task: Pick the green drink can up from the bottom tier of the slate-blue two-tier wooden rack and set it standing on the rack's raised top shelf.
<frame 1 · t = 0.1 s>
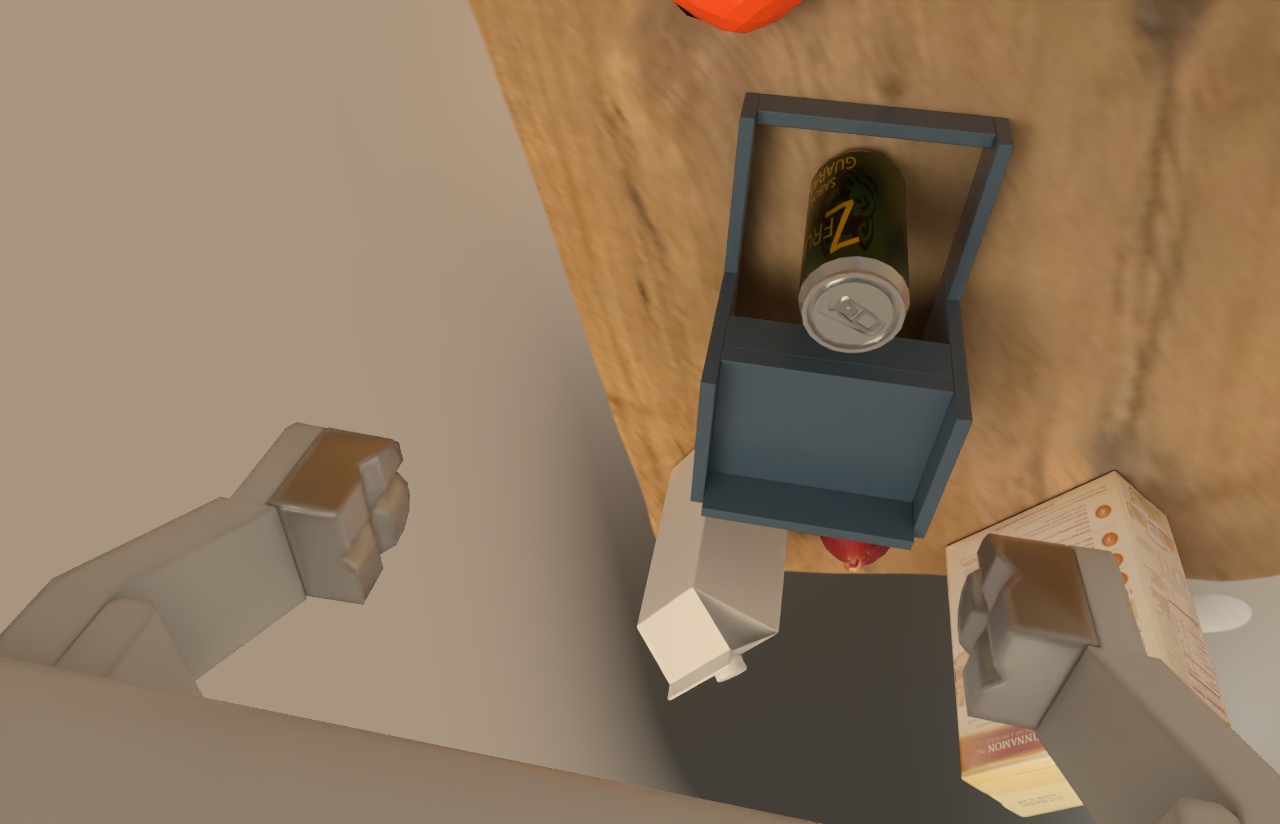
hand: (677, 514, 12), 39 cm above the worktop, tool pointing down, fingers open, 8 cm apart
rack: (841, 258, 54), on the worktop
onion: (857, 484, 68), on the worktop
coffeecake box: (1050, 529, 67), on the worktop
milk carton: (732, 465, 69), on the worktop
green drink can: (857, 185, 50), resting in rack
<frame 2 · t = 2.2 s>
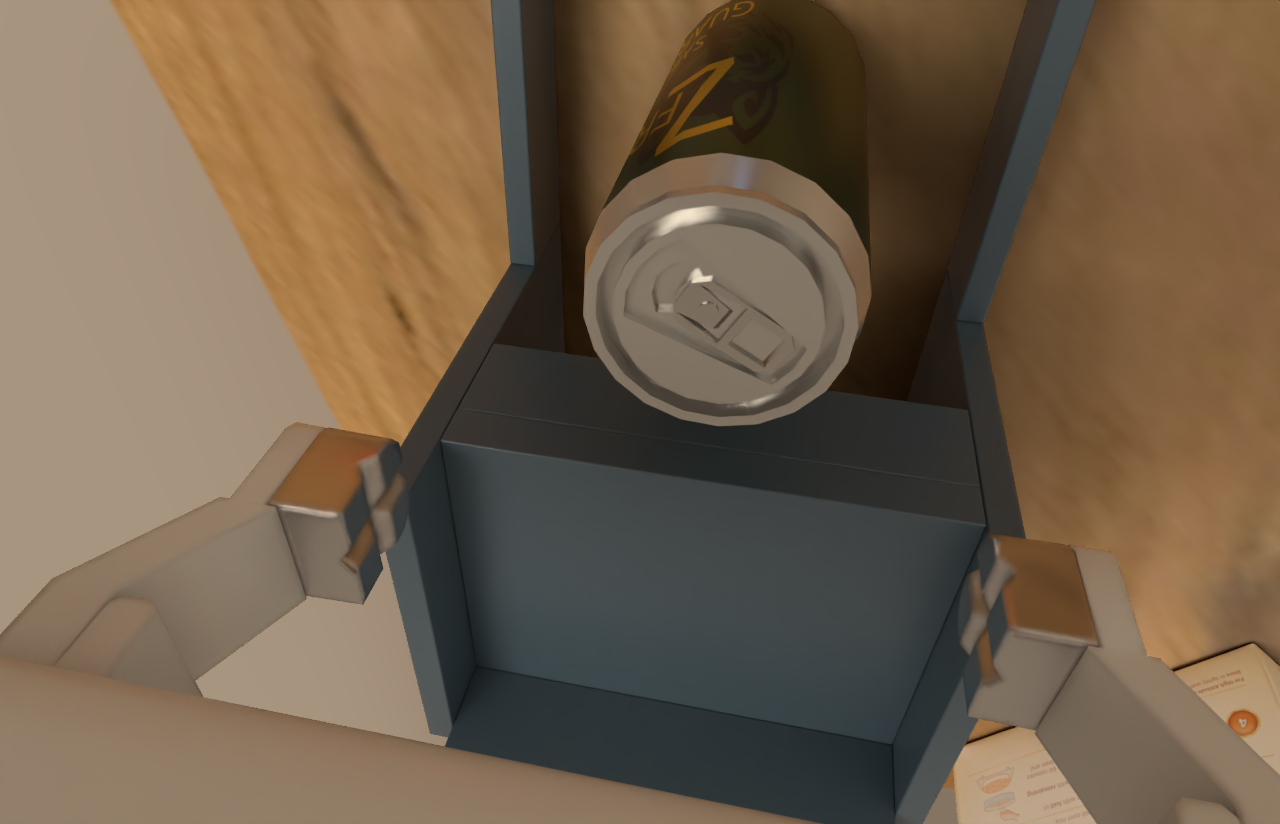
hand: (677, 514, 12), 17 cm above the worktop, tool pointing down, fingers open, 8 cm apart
rack: (748, 244, 28), on the worktop
coffeecake box: (1128, 730, 40), on the worktop
green drink can: (768, 84, 25), resting in rack
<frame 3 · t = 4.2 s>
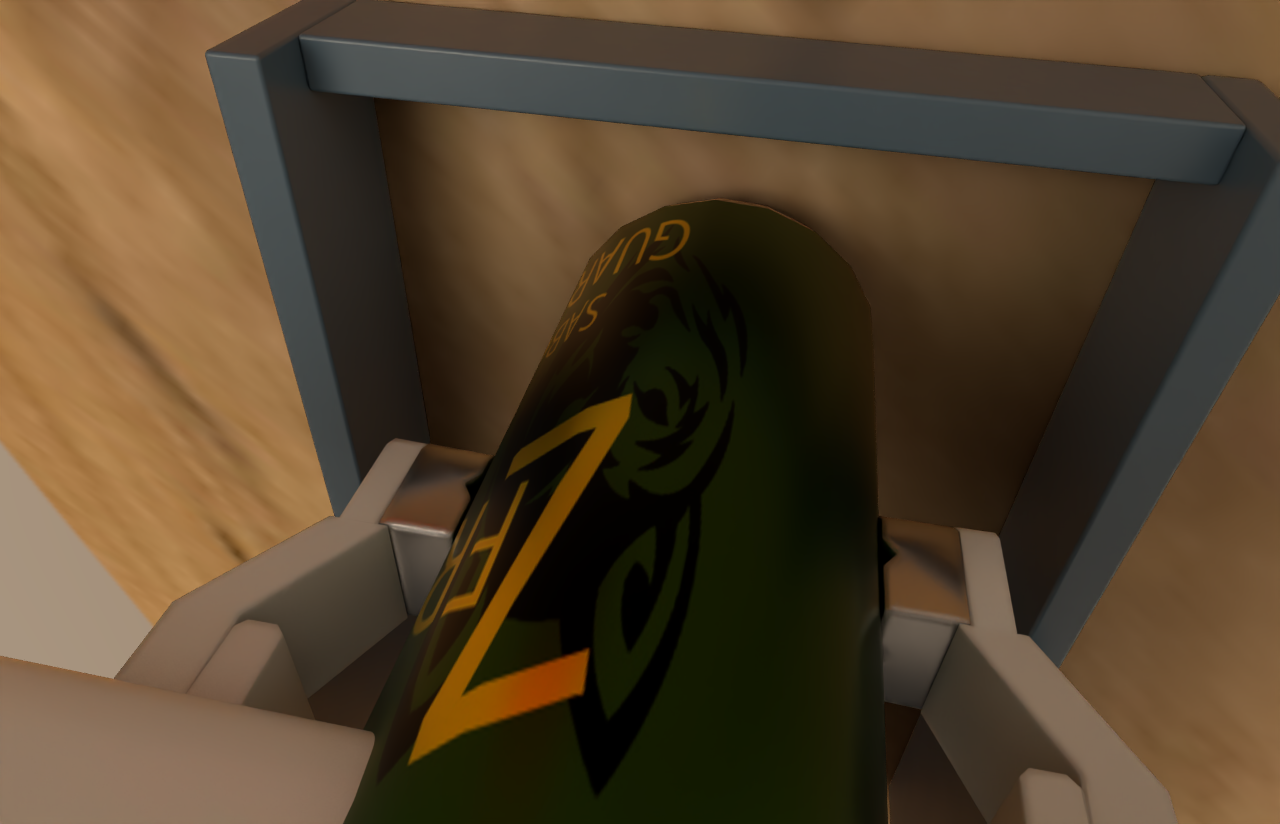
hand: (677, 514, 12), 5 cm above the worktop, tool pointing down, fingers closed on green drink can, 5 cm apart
rack: (701, 506, 19), on the worktop
green drink can: (724, 312, 16), resting in rack, touching gripper
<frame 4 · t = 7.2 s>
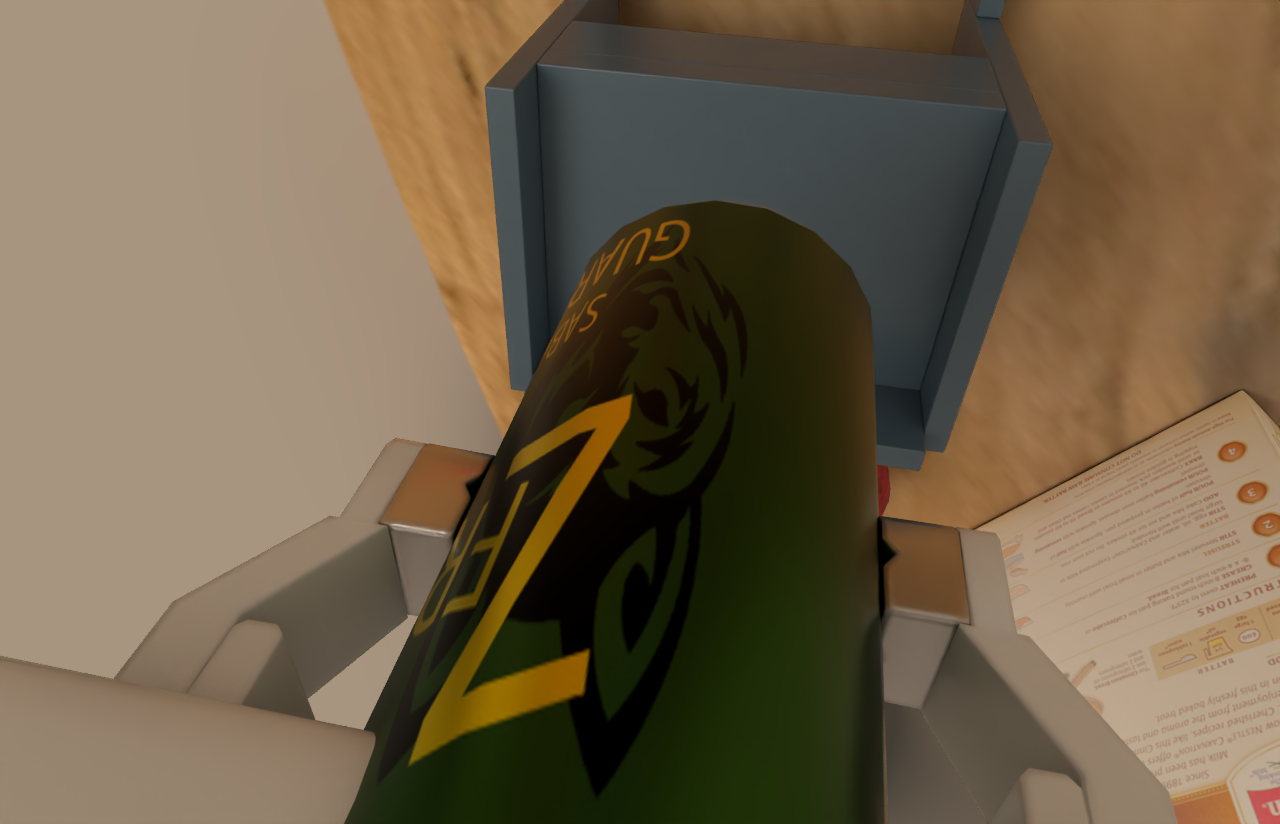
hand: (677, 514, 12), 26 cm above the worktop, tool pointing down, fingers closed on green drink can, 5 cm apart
onion: (828, 431, 44), on the worktop
coffeecake box: (1127, 502, 43), on the worktop
green drink can: (724, 312, 16), point 21 cm above the worktop, touching gripper
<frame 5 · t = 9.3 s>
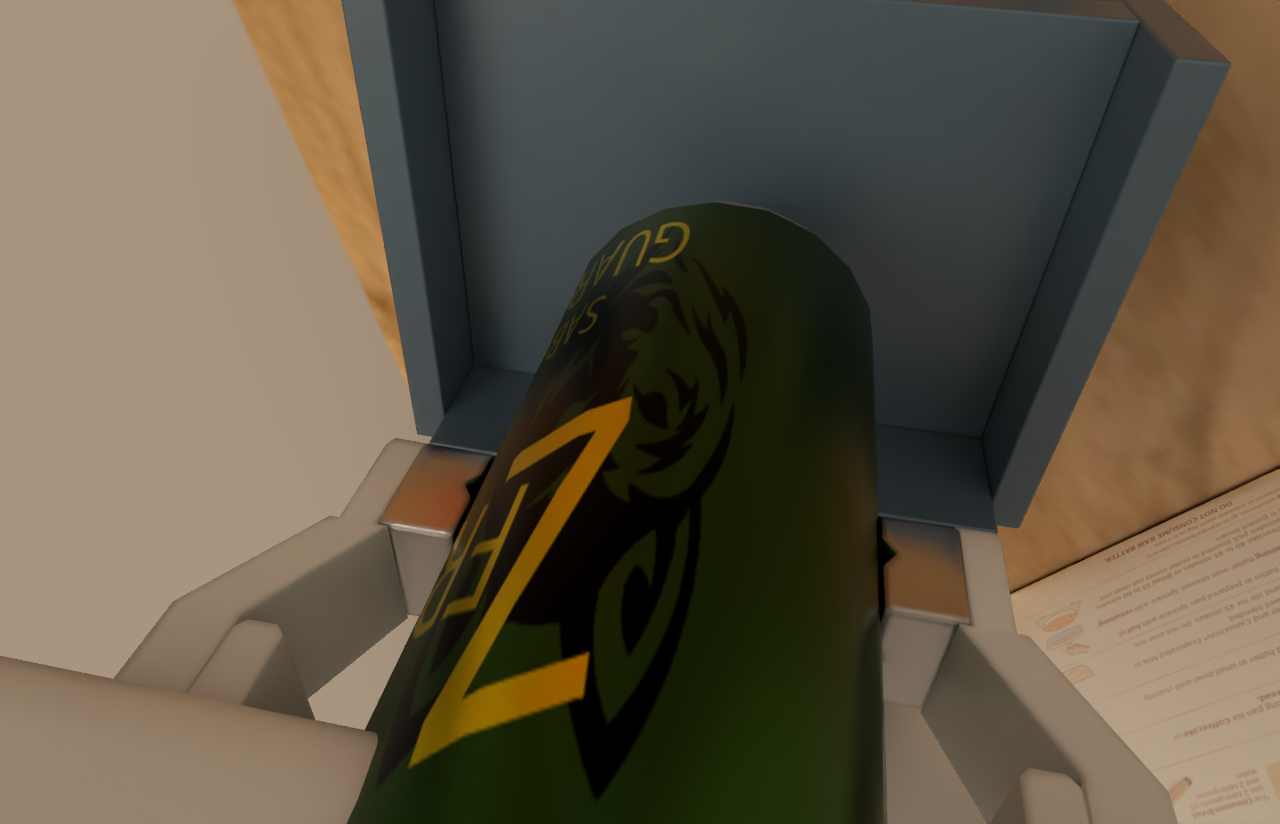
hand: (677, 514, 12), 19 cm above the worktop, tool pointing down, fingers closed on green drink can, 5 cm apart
coffeecake box: (1207, 561, 35), on the worktop
green drink can: (723, 314, 16), point 14 cm above the worktop, touching gripper
when the fingers open (16 cm above the worktop, at t = 10.7 s): green drink can stays where it is, resting on rack.
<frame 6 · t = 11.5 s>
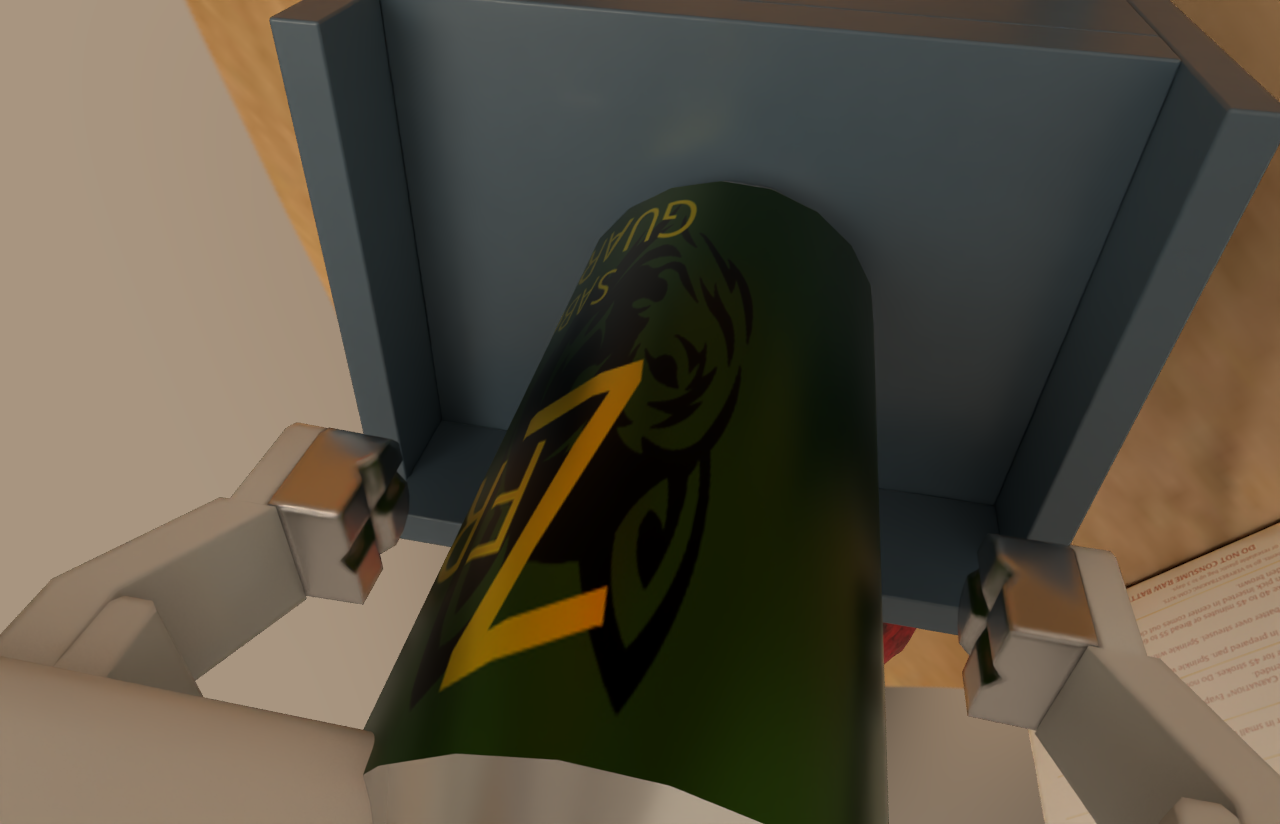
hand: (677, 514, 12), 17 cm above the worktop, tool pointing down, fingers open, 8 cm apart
onion: (842, 510, 35), on the worktop
coffeecake box: (1227, 604, 34), on the worktop
green drink can: (728, 292, 17), point 11 cm above the worktop, touching rack
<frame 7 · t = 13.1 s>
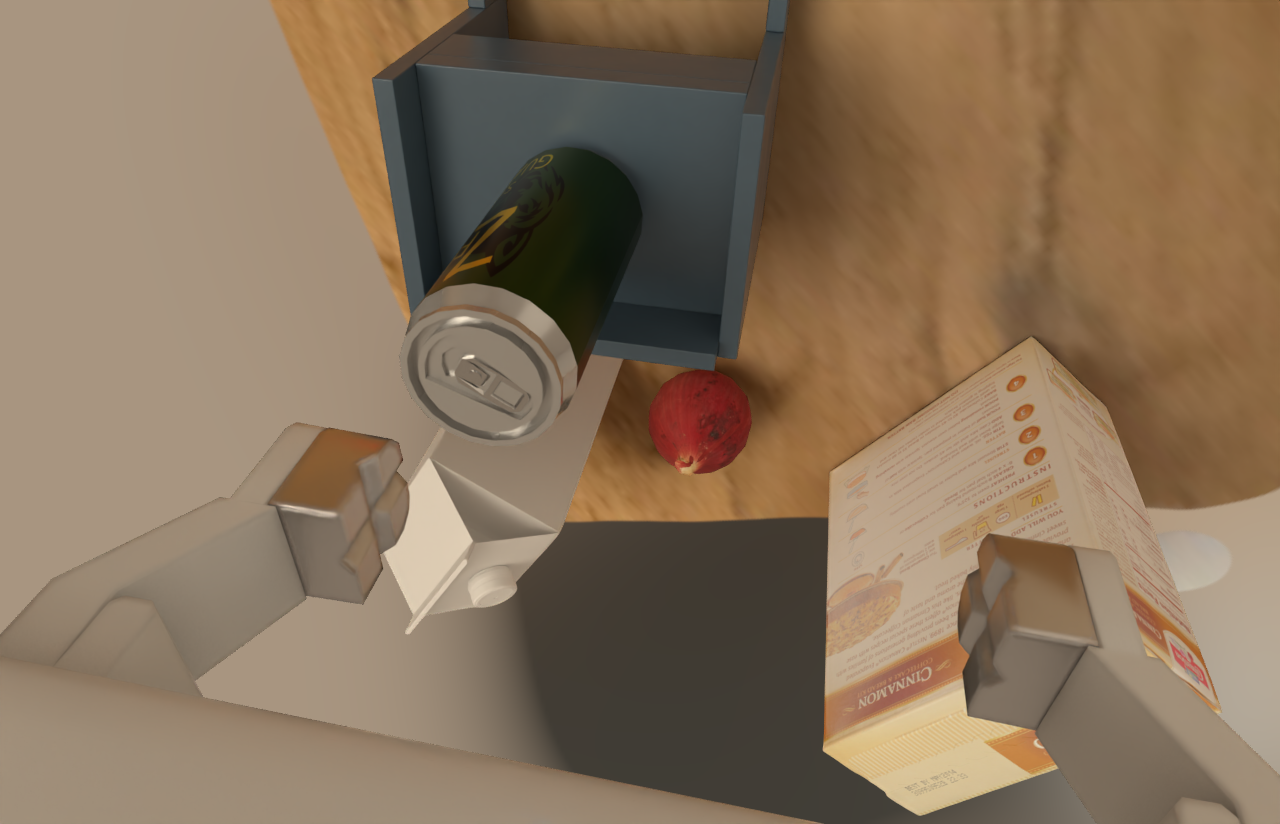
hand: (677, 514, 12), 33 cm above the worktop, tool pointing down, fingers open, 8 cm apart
rack: (635, 3, 40), on the worktop
onion: (708, 380, 52), on the worktop
coffeecake box: (959, 439, 51), on the worktop
milk carton: (549, 359, 54), on the worktop
green drink can: (581, 203, 34), point 11 cm above the worktop, touching rack
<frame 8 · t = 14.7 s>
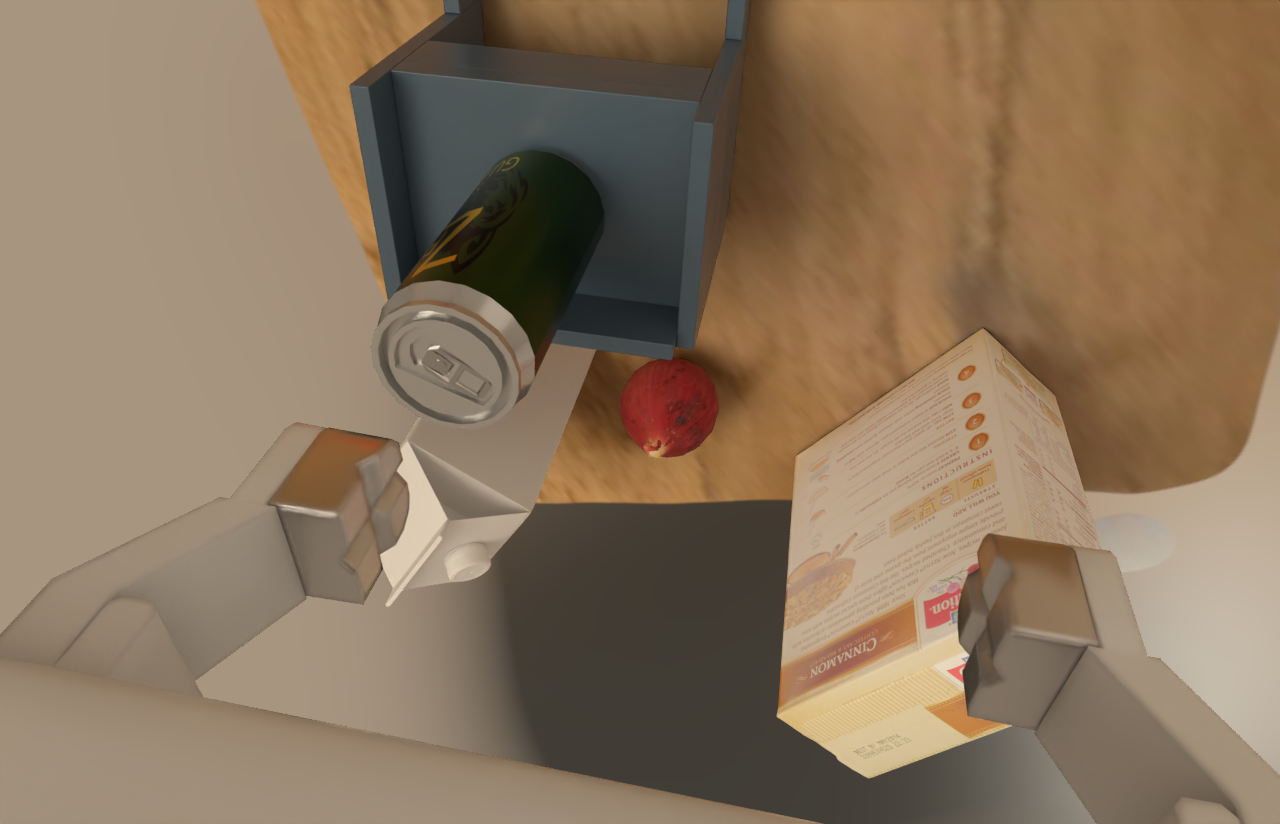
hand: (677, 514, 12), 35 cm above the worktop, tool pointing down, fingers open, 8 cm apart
rack: (604, 9, 42), on the worktop
onion: (679, 368, 55), on the worktop
coffeecake box: (917, 425, 54), on the worktop
milk carton: (527, 347, 56), on the worktop
green drink can: (548, 202, 37), point 11 cm above the worktop, touching rack
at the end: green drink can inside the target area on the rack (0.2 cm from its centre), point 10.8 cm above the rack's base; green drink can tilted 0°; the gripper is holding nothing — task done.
